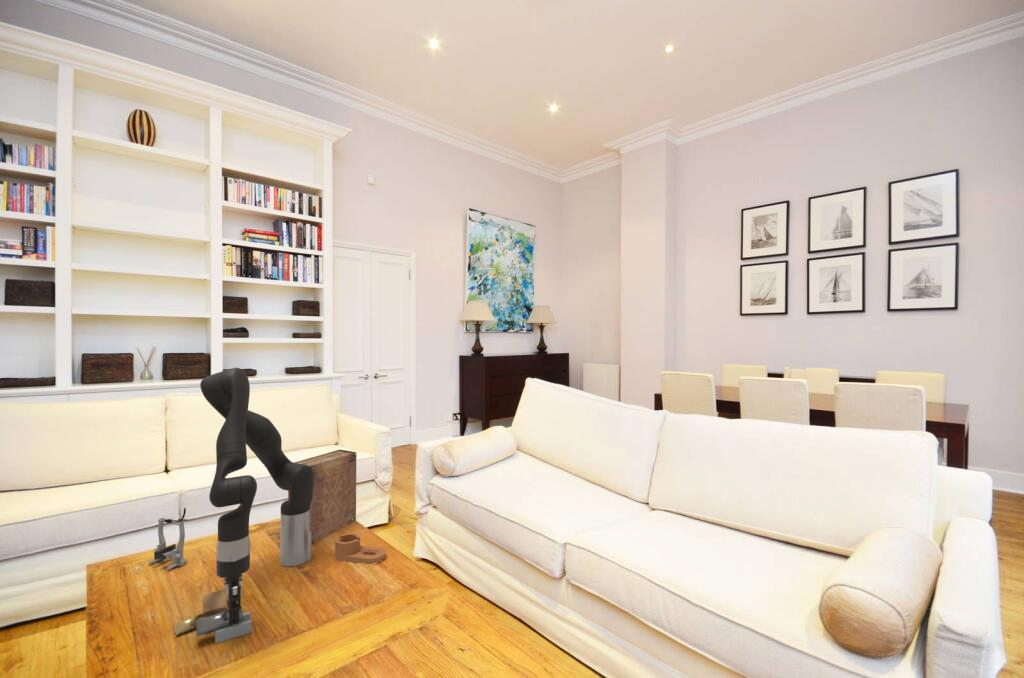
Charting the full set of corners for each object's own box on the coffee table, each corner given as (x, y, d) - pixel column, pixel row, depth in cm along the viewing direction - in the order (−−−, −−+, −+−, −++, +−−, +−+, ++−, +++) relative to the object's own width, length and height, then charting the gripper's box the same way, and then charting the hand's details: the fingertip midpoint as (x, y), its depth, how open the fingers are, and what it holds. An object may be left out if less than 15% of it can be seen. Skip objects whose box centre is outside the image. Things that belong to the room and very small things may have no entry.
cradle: (249, 621, 125) (249, 611, 125) (251, 632, 121) (251, 621, 121) (214, 632, 121) (214, 621, 121) (215, 643, 116) (215, 632, 116)
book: (304, 549, 167) (305, 467, 167) (287, 544, 171) (287, 464, 171) (356, 524, 190) (356, 451, 190) (339, 520, 194) (340, 449, 194)
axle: (242, 619, 123) (241, 604, 124) (243, 623, 120) (242, 607, 121) (196, 634, 118) (196, 618, 118) (196, 639, 115) (196, 622, 115)
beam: (224, 607, 132) (224, 589, 132) (225, 626, 123) (225, 606, 123) (202, 613, 129) (203, 594, 129) (203, 632, 121) (203, 612, 121)
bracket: (330, 562, 159) (330, 542, 159) (343, 551, 167) (343, 532, 167) (378, 568, 155) (378, 547, 155) (389, 556, 163) (389, 537, 163)
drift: (201, 626, 125) (200, 614, 125) (204, 624, 123) (203, 612, 124) (174, 636, 120) (173, 624, 121) (177, 635, 118) (175, 622, 119)
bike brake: (192, 564, 156) (192, 506, 156) (171, 574, 149) (171, 513, 149) (165, 557, 161) (165, 500, 160) (143, 566, 154) (144, 507, 154)
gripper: (215, 546, 125) (215, 606, 125) (217, 569, 113) (217, 634, 113) (247, 539, 129) (247, 597, 129) (252, 560, 117) (252, 624, 117)
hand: (233, 614), depth 121 cm, fingers open, 8 cm apart
